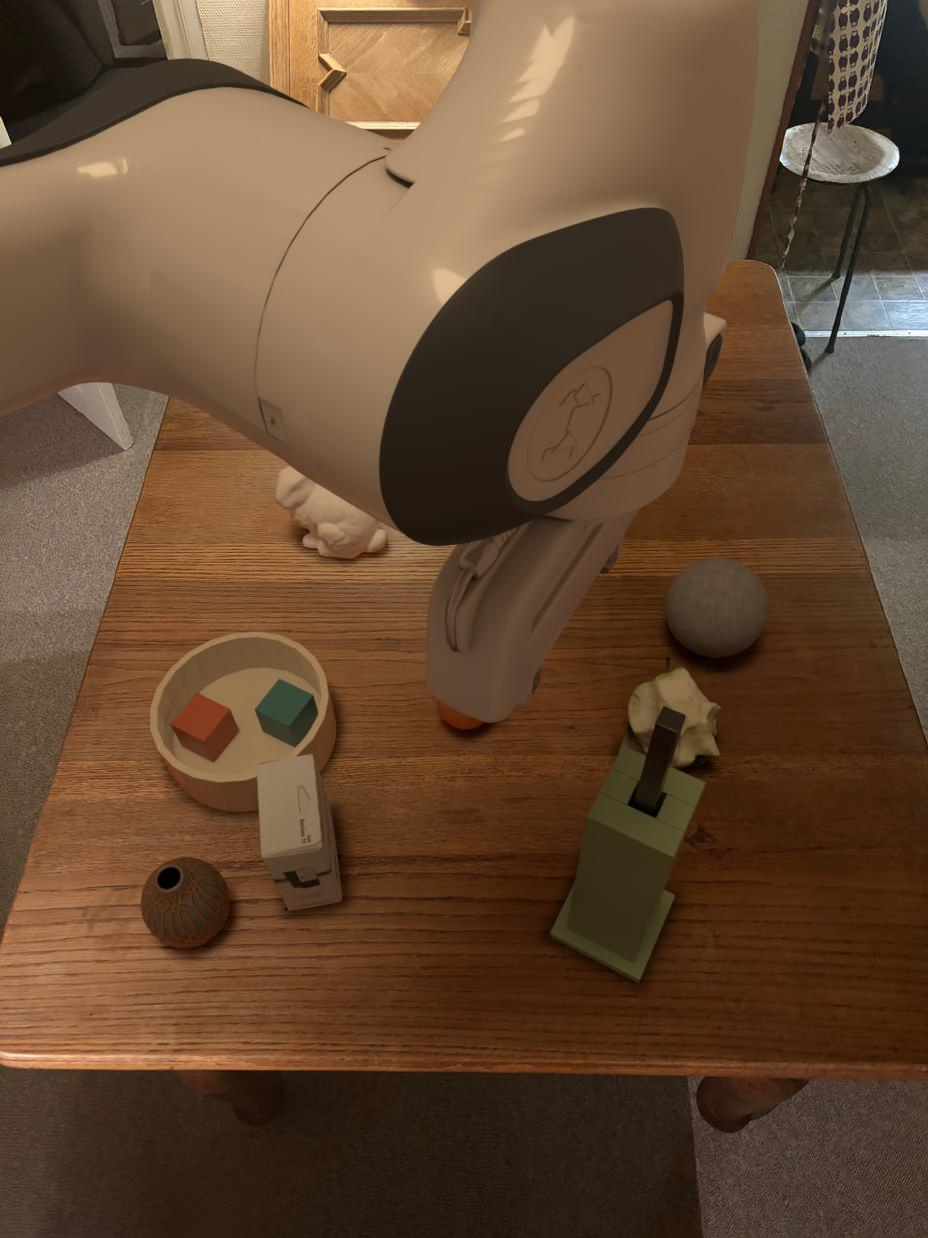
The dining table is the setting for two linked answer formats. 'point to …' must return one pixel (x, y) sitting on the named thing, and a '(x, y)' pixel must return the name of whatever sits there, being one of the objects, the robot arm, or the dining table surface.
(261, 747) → the bowl
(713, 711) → the cream irregular lump
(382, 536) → the rabbit
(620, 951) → the stick stand
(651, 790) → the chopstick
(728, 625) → the decorative ball
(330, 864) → the ink box
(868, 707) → the dining table surface
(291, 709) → the teal block
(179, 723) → the terracotta block
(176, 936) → the vase
